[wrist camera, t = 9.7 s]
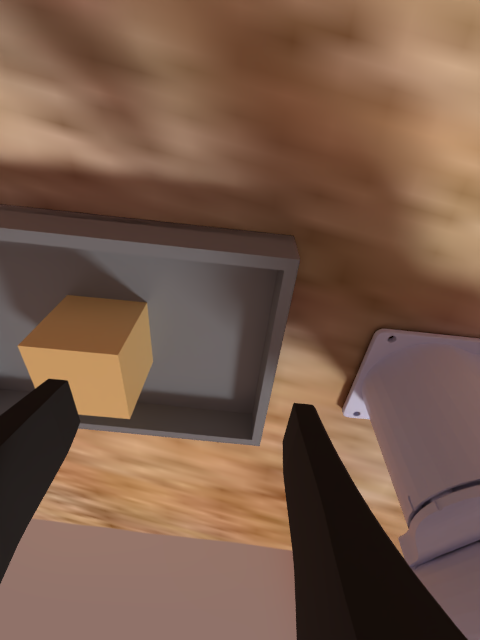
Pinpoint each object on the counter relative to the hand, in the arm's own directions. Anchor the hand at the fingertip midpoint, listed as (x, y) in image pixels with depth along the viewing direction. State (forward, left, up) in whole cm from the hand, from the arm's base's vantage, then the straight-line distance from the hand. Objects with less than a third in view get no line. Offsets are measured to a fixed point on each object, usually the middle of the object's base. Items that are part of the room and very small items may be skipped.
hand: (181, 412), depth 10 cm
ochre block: (+6, +4, -9) cm, 11 cm away
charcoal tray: (+6, +4, -9) cm, 12 cm away
